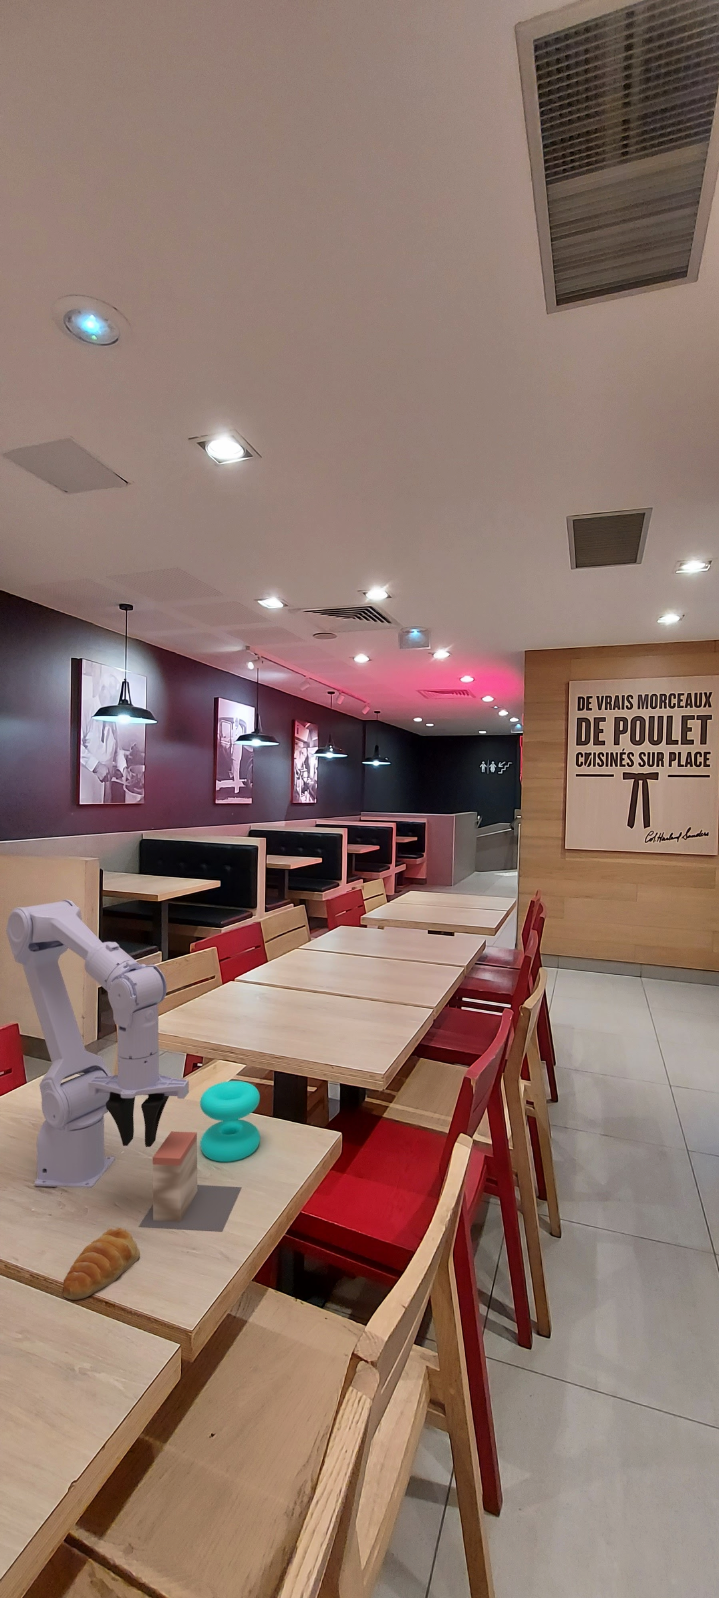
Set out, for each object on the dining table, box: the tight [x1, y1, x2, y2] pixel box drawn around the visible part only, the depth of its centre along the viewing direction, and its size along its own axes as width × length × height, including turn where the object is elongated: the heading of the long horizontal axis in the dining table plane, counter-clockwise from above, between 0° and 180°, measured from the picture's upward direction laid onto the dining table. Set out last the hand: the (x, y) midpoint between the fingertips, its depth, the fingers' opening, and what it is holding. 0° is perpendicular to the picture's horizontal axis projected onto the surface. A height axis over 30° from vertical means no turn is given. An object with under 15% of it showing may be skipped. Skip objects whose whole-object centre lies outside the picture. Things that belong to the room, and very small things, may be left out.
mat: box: [138, 1184, 243, 1233], centre depth 95 cm, size 12×10×1 cm
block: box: [152, 1131, 198, 1222], centre depth 95 cm, size 4×7×9 cm, turn 175°
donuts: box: [199, 1080, 261, 1163], centre depth 111 cm, size 10×10×10 cm
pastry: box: [62, 1227, 141, 1301], centre depth 82 cm, size 9×7×4 cm
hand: (139, 1143), depth 96 cm, fingers open, 3 cm apart
